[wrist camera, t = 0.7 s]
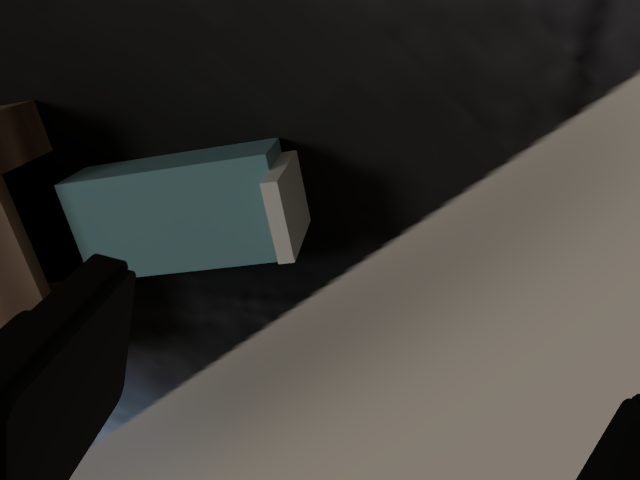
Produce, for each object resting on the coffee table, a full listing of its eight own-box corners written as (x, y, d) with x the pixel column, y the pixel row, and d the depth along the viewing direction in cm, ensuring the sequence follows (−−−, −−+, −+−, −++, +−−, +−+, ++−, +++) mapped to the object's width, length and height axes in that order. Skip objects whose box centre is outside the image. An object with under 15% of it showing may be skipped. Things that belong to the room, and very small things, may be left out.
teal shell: (293, 135, 36) (273, 164, 30) (313, 233, 39) (298, 277, 33) (86, 167, 39) (30, 199, 33) (118, 256, 41) (71, 300, 35)
